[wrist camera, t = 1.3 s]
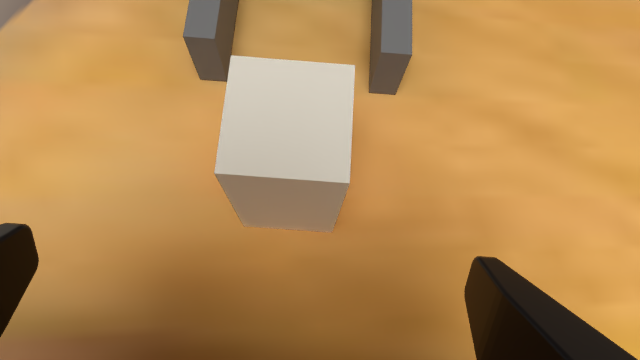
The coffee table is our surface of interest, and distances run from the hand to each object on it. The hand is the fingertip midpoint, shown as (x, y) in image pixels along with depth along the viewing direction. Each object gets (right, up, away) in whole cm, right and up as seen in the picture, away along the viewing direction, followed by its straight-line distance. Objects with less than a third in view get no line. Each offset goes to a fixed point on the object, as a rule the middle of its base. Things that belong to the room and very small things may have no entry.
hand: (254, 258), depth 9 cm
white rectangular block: (0, +1, +15) cm, 15 cm away
